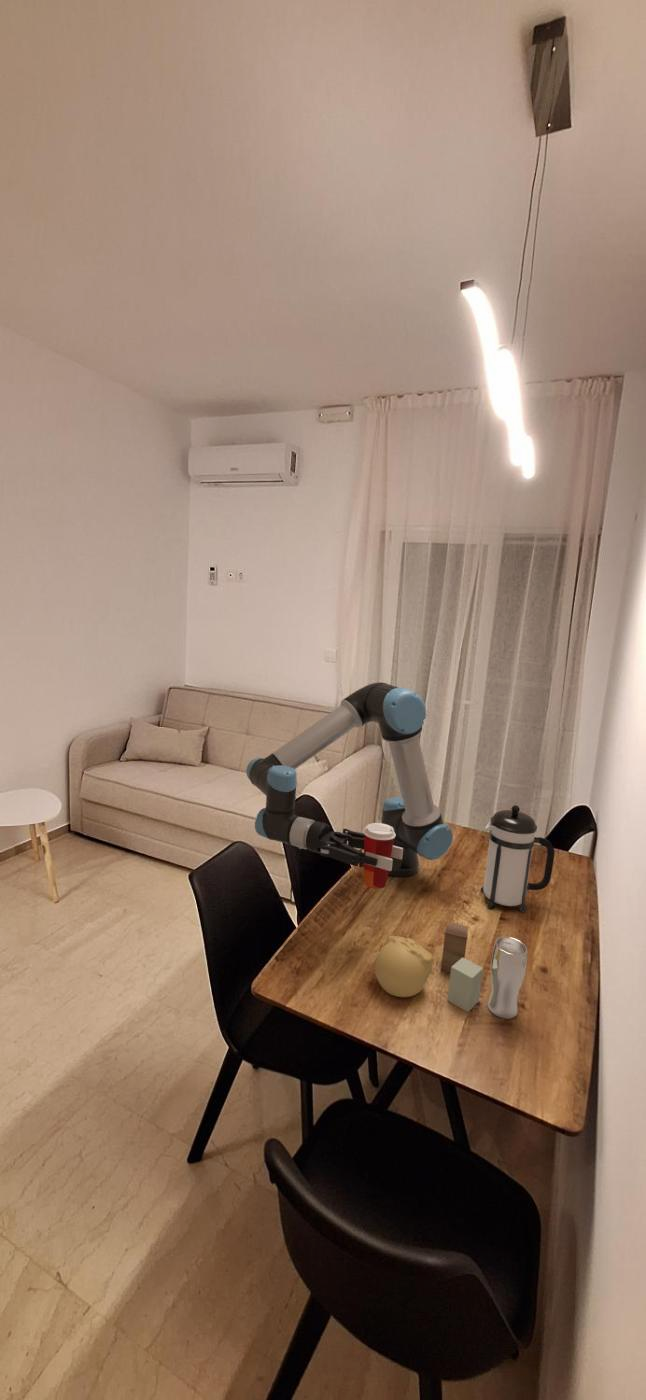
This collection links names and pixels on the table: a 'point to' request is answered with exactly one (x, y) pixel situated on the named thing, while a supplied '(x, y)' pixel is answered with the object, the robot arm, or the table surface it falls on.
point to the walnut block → (453, 945)
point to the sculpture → (403, 967)
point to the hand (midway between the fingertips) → (396, 859)
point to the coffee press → (512, 858)
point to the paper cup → (377, 852)
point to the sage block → (465, 984)
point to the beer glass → (507, 976)
